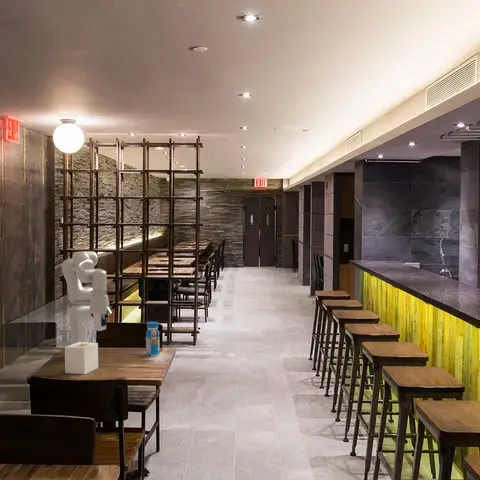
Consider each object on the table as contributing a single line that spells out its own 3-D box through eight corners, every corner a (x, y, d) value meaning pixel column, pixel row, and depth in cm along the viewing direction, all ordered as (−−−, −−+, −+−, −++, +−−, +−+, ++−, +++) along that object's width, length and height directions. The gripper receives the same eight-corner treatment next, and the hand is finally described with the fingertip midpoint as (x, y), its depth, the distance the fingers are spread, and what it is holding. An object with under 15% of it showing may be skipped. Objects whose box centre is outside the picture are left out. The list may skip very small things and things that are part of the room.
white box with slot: (65, 372, 318) (64, 347, 317) (79, 366, 331) (79, 341, 331) (84, 374, 314) (84, 348, 314) (98, 367, 328) (97, 343, 327)
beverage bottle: (143, 355, 356) (142, 323, 355) (150, 352, 364) (149, 320, 363) (155, 356, 353) (155, 323, 352) (162, 353, 361) (161, 321, 360)
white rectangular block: (94, 330, 320) (93, 312, 319) (99, 328, 325) (99, 310, 325) (100, 330, 319) (100, 312, 318) (106, 328, 324) (105, 310, 324)
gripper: (82, 293, 320) (82, 326, 321) (110, 294, 315) (110, 327, 316) (89, 291, 327) (89, 323, 328) (116, 292, 322) (117, 325, 323)
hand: (100, 325), depth 322 cm, fingers closed on white rectangular block, 4 cm apart
